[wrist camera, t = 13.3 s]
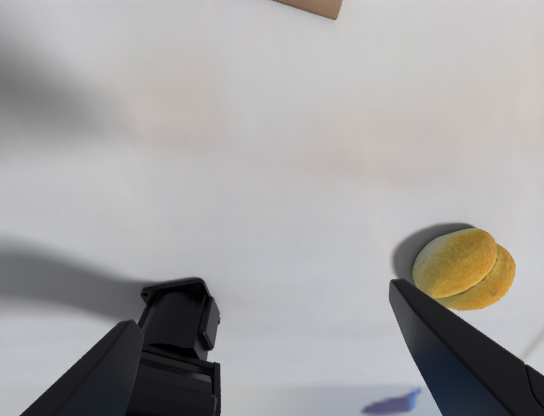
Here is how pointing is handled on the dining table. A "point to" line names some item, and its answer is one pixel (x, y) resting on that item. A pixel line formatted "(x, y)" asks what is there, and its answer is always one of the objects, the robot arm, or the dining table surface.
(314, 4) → the serving tray
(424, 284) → the bread roll
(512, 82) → the dining table surface
